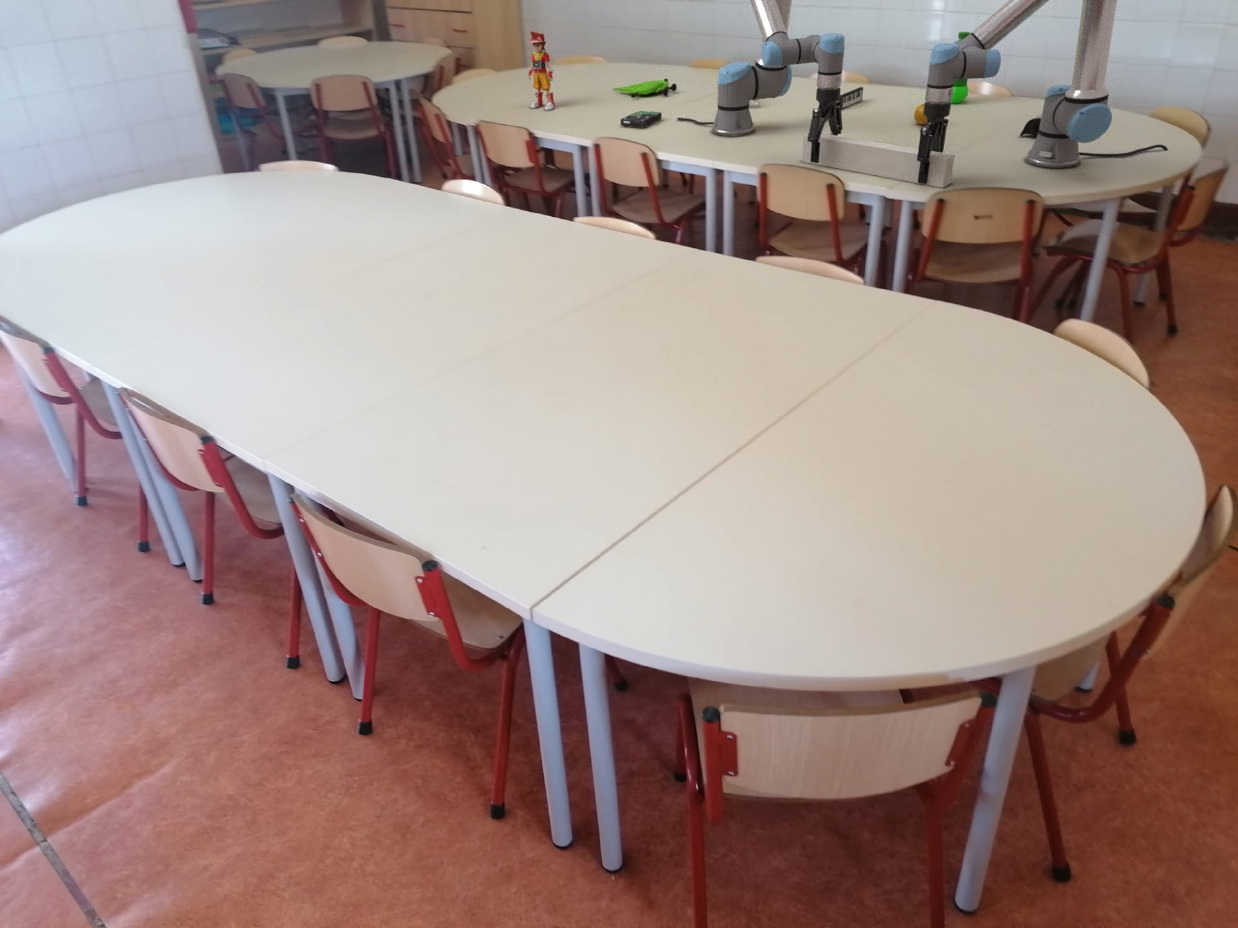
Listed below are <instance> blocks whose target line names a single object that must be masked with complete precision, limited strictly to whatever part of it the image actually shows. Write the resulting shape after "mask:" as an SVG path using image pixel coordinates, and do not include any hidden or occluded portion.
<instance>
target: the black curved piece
mask: <svg viewBox="0 0 1238 928" xmlns="http://www.w3.org/2000/svg"><path fill="white" fill-rule="evenodd" d="M1041 117H1042V113H1040V114H1037V115H1036V116H1034V117H1033V118H1031V119H1029V120H1028V121H1027V122H1026V123H1025V125H1024V127H1023V129H1022V130H1021V132H1020V134H1019V137H1023V136H1024V135H1031V136H1032V137H1033V138H1035V139H1036V138H1037V136H1038V132H1039V127H1040V122H1041Z"/></svg>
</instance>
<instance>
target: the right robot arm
mask: <svg viewBox="0 0 1238 928" xmlns="http://www.w3.org/2000/svg"><path fill="white" fill-rule="evenodd" d="M1049 1H1050V0H1008V1H1007V2H1005V3H1004V4H1003V5H1002V6H1001V7H999V9H997V10H996V11H995V12H994V13H992V14H991V15H990V16H989V17H988V18H987V19H986V20H984V21H983V22H982V23H981V24H980V25H979V26H978V27H976V28H975V29H974V30H973V31H972V32H970V34H969V35H968V36H967V37H966V38H964V39H961V40H959V39H957V40H954V41H953V42H950V43H948V42H944V43H943V42H942V43H938V44H935V45H934V46H933V47H932V49H931V52H930V53H931V54H930V58H929V66H928V67H929V68H928V75H927V83H926V88H925V95H924V96H925V97H924V101H925V102H924V103H923V104H924V110H923V115H924V116H926V117H927V122H926V125H924V127H920V129H919V134H920V135H919V143H918V148H917V149H918V156H917V161H920V168H919V176H918V183H917V184H919V183H923V184H922V185H925V184H927V179H928V172H929V165H930V162H928V161H929V157H930V153H931V151H935V152H941V153H944V149H945V143H946V135H947V128H948V126H949V125H948V124H949V119H948V118H947V117H949V116H950V113H951V108H952V107H951V106H952V103H950V101H951V100H952V95H953V94H954V91H953V86H954V81H955V79H968V80H971V79H973V80H975V79H988V78H995V77H996V76H997V75H998V73H999V72H1000V68H1001V64H1002V63H1001V62H1002V57H1001V56H1002V55H1001V52H1000V51H999V50H998V49H993V48H994V47H995V46H996V45H998V44H999V43H1000V42H1001V41H1003V39H1005V38H1006V37H1007V36H1008V35H1009V34H1010V33H1012V32H1013V31H1015V30H1016V29H1017V28H1018V27H1019V26H1020V25H1022V24H1023V23H1024V22H1025V21H1026V20H1027V19H1029V18H1031V16H1032V15H1033V14H1035V13H1036V12H1038V10H1040V9H1041V8H1042V7H1043V6H1045V4H1047V3H1048V2H1049ZM1117 3H1118V0H1082V5H1081V13H1080V19H1079V28H1078V33H1077V34H1078V36H1077V43H1076V50H1075V58H1074V65H1073V73H1072V81H1071V84H1058V85H1051V86H1049V87H1048V88H1047V91H1046V93H1045V96H1044V101H1043V102H1044V103H1043V108H1042V111H1041V114H1042V117H1041V122H1040V127H1039V132H1038V136H1037V138H1035V140H1034V142H1033V144H1032V146H1031V148H1030V150H1028V152H1027V155H1026V162H1027V163H1029V164H1030V165H1032V166H1036V167H1039V168H1040V167H1041V168H1047V169H1049V168H1050V169H1067V168H1071V167H1075V166H1077V165H1078V164H1079V161H1080V156H1082V157H1083V156H1084V157H1085V156H1086V157H1103V158H1106V157H1107V158H1110V157H1113V158H1115V157H1126V156H1131V155H1135V154H1138V153H1141V152H1145V151H1149V150H1153V149H1157V148H1161V149H1162V150H1164V151H1168V150H1169V149H1168V147H1167V146H1166V145H1164V144H1154V145H1150V146H1147V147H1143V148H1138V149H1135V150H1132V151H1128V152H1121V153H1120V152H1119V153H1093V152H1081V151H1080V152H1079V143H1081V144H1087V143H1091V142H1092V143H1093V142H1094V141H1096V140H1099V139H1100V138H1101V137H1102V135H1104V134H1106V133H1107V131H1108V130H1109V128H1110V126H1111V125H1112V122H1113V121H1112V120H1113V114H1112V110H1111V108H1110V107H1109V106H1108V101H1109V95H1110V90H1109V89H1108V88H1107V87H1106V86H1105V83H1106V76H1107V70H1108V63H1109V57H1110V56H1109V55H1110V49H1111V43H1112V36H1113V31H1114V30H1113V29H1114V24H1115V17H1116V10H1117Z"/></svg>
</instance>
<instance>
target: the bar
mask: <svg viewBox="0 0 1238 928" xmlns="http://www.w3.org/2000/svg"><path fill="white" fill-rule="evenodd" d="M830 134H831V133H823V132H822V133H821V136H820V139H819V142H820V152H819V163H814V162H810V160H811V144H812V143H811V142H809V141H808V135H809V132H808V133H806V134H803V138H802V139H803V142H802V154H801V155H802V156H801V162H802V163H807V164H812V165H816V166H817V165H818V166H822V167H823V166H824V167H828V168H834V169H839V170H845V171H850V172H855V173H860V174H866V175H871V176H877V177H881V178H886V179H887V178H888V179H891V180H892V179H893V180H899V181H905V182H910V183H913V184H920V185H925V186H930V187H936V188H942V189H944V188H945V187H947V186H948V185H950V184H951V181H952V175H953V169H954V163H955V156H956V155H955V154H952V153H948V152H947V153H946V152H943V153H941V152H935V151H931V153H930V157H929V161H928V162H930V165H929V172H928V179H927V184H923V183H918V176H919V168H920V161H917V156H918V149H919V148H917V147H910V146H909V147H908V146H903V145H897V144H892V143H891V144H890V143H884V142H880V141H879V142H878V141H872V140H867V139H860V138H854V137H847V136H842V135H838V136H836V135H830Z"/></svg>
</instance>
